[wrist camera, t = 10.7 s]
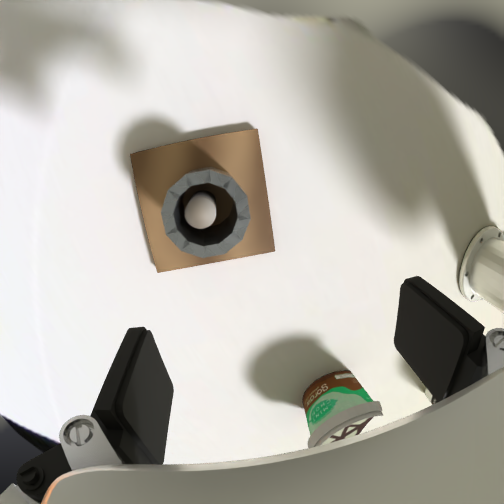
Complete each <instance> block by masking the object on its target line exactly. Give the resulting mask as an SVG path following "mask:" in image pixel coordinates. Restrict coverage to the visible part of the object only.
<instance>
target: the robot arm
mask: <svg viewBox="0 0 504 504" xmlns="http://www.w3.org/2000/svg"><path fill="white" fill-rule="evenodd" d="M459 283H460V290H461V293H462V295H463V296H464V297H465V298H466V299H467V300H469V301H472V302H475V301H479V300H481V299H484V300H486V301H487V302H489V303H490V304H491V305H493V306H494V307H496V308H497V309H498V310H500V311H501V312H502V313H504V234H503V233H502V231H501V230H500V229H499V228H496V227H494V226H488V227H485V228H483V229H482V230H481V231H480V232H479V233H477V235H476V236H475V237H474V238H473V240H472V242H471V243H470V245H469V247H468V249H467V251H466V253H465V256H464V258H463V262H462V265H461V270H460V279H459ZM484 328H485V327H484V326H483V325H482V324H481V323H479V322H478V321H477V320H476V319H474V318H473V317H472V316H471V315H470V314H468V313H467V312H466V311H465V310H463V309H462V308H461V307H459V306H458V305H457V304H456V303H454V302H453V301H452V300H450V299H449V298H448V297H447V296H445V295H444V294H443V293H441V292H440V291H439V290H437V289H436V288H435V287H433V286H432V285H431V284H429V283H428V282H427V281H425V280H424V279H422V278H421V277H419V276H416V277H412V278H408V279H406V280H405V281H404V283H403V284H402V285H401V288H400V298H399V307H398V315H397V323H396V330H395V337H394V344H395V347H396V349H397V350H398V351H399V353H400V354H401V355H402V357H403V358H404V359H405V360H406V362H407V363H408V364H409V365H410V367H411V368H412V369H413V371H414V372H415V373H416V375H417V376H418V377H419V378H420V380H421V381H422V382H423V384H424V385H425V386H426V388H427V389H428V390H429V392H430V393H431V394H432V396H433V397H434V398H435V400H436V401H437V402H438V403H436V404H434V405H432V406H429V407H427V408H425V409H423V410H421V411H419V412H416V413H414V414H412V415H409V416H407V417H405V418H402V419H400V420H397V421H395V422H392V423H390V424H387V425H384V426H382V427H379V428H376V429H373V430H370V431H368V432H365V433H362V434H359V435H355V436H352V437H349V438H346V439H342V440H339V441H335V442H332V443H328V444H324V445H320V446H316V447H312V448H308V449H303V450H299V451H294V452H289V453H284V454H279V455H273V456H267V457H260V458H254V459H246V460H237V461H228V462H216V463H200V464H171V465H162V464H163V462H164V455H165V447H166V440H167V432H168V425H169V418H170V412H171V405H172V399H173V392H174V390H173V384H172V382H171V379H170V377H169V375H168V372H167V370H166V368H165V365H164V363H163V360H162V358H161V355H160V353H159V351H158V348H157V345H156V343H155V340H154V338H153V335H152V333H151V331H150V330H146V328H145V327H137V328H129V329H128V331H127V333H126V335H125V337H124V339H123V341H122V343H121V346H120V348H119V350H118V352H117V354H116V356H115V359H114V361H113V363H112V365H111V368H110V370H109V372H108V375H107V377H106V379H105V381H104V384H103V386H102V389H101V391H100V393H99V396H98V398H97V401H96V403H95V406H94V408H93V411H92V413H91V416H87V415H78V416H75V417H73V418H71V419H69V420H68V421H67V422H66V423H65V424H64V425H63V426H62V428H61V430H60V434H59V438H60V442H61V443H60V444H59V445H57V446H55V447H53V448H51V449H50V450H48V451H46V452H44V453H43V454H41V455H39V456H37V457H35V458H33V459H31V460H30V461H28V462H26V463H25V464H23V465H22V466H21V467H20V469H19V471H18V473H17V485H14V484H13V483H12V484H11V485H10V486H9V487H8V488H7V489H6V490H5V491H4V492H3V493H2V494H1V495H0V504H504V329H502V328H495V329H492V330H490V331H489V332H488V333H487V334H486V336H484V335H483V331H484Z"/></svg>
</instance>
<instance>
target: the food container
mask: <svg viewBox="0 0 504 504" xmlns="http://www.w3.org/2000/svg"><path fill="white" fill-rule="evenodd" d="M303 405H304V409H305V414H306V418H307V422H308V427H309V431H310V435H311V436H310V438H309V440H308V448H312V447H316V446H320V445H324V444H328V443H332V442H335V441H339V440H342V439H346V438H349V437H352V436H355V435H359V434H360V432H361V431H362V429H363V428H364V427H365V426H366V424H367V423H368V422H369V421H370V420H371V419H372V418H373V417H374V416H383V414H382V412H381V411H382V408H381V405H380V402H379V401H373V400H372V399H371V397H370V396H369V395H368V394H367V392H366V391H365V390H364V388H363V387H362V386H361V384H360V383H359V382H358V380H357V379H356V378H355V376H354V375H353V374H352V373H351V371H338V372H333V373H330V374H327V375H325V376H323V377H321V378H319V379H318V380H316V381H315V382H313V383H312V384H311V385H310V386H309V387H308V388H307V390H306V391H305V393H304V395H303Z"/></svg>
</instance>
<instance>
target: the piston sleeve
mask: <svg viewBox="0 0 504 504" xmlns="http://www.w3.org/2000/svg"><path fill="white" fill-rule="evenodd" d="M203 183H211V184H214V185H216V186H219V187H222V188H225V190H226V191H227V192H228V193H229V194H230V195H231V197H232V198H233V206H232V209H231V212H230V214H229V216H228V217H227V218H226V219H225V220H224V221H222V222H221V223H220V224H218V225H213V226H209V227H207V228H203V229H198V228H195V227H193V226H191V225H190V224H189V223H188V222H187V220H186V218H185V210H184V205H183V197H184V194H185V191H186V190H187V189H188V188H189V187H190V186H193V185H198V184H203ZM161 216H162V220H163V224H164V229H165V233H166V235H167V236H168V237H169V239H170V240H171V241H172V242H173V243H174V244H175V245H176V246H177V247H178V248H179V249H180V250H181V251H182V252H185V253H188V254H192V255H195V256H198V257H201V258H206V257H211V256H217V255H222V254H226V253H227V252H228V251H229V250H230V249H232V248H233V247H234V246H235V245H237V244H238V243H239V242H240V241H242V240H243V237H244V234H245V232H246V229H247V227H248V224H249V222H250V219H251V217H250V211H249V205H248V198H247V195H246V194H245V192H244V191H243V190H242V188H241V187H240V186H239V184H238V183H237V182H236V181H235V180H234V179H233V177H232V176H231V175H230V174H229V173H228V172H225V171H222V170H220V169H217V168H214V167H206V168H201V169H196V170H192V171H190V172H189V173H187V174H185V175H184V176H183V177H182V178H181V179H180V180H179V181H177V182H176V183H175V184H174V185H173V186H172V187H171V188H170V189H169V190H168V191H167V194H166V197H165V200H164V204H163V207H162V210H161Z"/></svg>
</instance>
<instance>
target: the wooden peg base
mask: <svg viewBox="0 0 504 504" xmlns="http://www.w3.org/2000/svg"><path fill="white" fill-rule="evenodd" d="M130 157H131V162H132V168H133V173H134V178H135V183H136V188H137V193H138V197H139V202H140V206H141V211H142V215H143V219H144V224H145V228H146V232H147V236H148V240H149V244H150V247H151V251H152V255H153V259H154V262H155V266H156V269H157V273H160V272H165V271H171V270H176V269H182V268H187V267H193V266H198V265H204V264H209V263H215V262H220V261H225V260H231V259H236V258H242V257H247V256H253V255H258V254H263V253H269V252H274V251H275V246H274V239H273V231H272V224H271V216H270V209H269V202H268V195H267V188H266V181H265V174H264V168H263V161H262V154H261V148H260V141H259V135H258V129H252V130H245V131H238V132H231V133H225V134H219V135H213V136H208V137H203V138H197V139H192V140H187V141H183V142H178V143H173V144H169V145H165V146H160V147H156V148H152V149H148V150H144V151H140V152H136V153H133V154H130ZM206 167H214V168H217V169H220V170H222V171H225V172H228V173H229V174H230V175H231V176H232V177H233V179H234V180H235V181H236V182H237V183H238V184H239V186H240V187H241V188H242V190H243V191H244V192H245V194H246V195H247V198H248V205H249V211H250V217H251V219H250V222H249V224H248V227H247V229H246V232H245V234H244V237H243V240H242V241H240V242H239V243H238V244H237V245H235V246H234V247H233V248H232V249H230V250H229V251H228V252H227V253H226V254H222V255H217V256H211V257H206V258H201V257H198V256H195V255H192V254H188V253H185V252H182V251H181V250H180V249H179V248H178V247H177V246H176V245H175V244H174V243H173V242H172V241H171V240H170V239H169V237H168V236H167V235H166V233H165V229H164V224H163V220H162V216H161V210H162V207H163V204H164V200H165V197H166V194H167V191H168V190H169V189H170V188H171V187H172V186H173V185H174V184H175V183H176V182H177V181H179V180H180V179H181V178H182V177H183V176H184V175H185V174H187V173H189V172H190V171H192V170H196V169H201V168H206ZM183 205H184V210H185V218H186V220H187V222H188V223H189V224H190V225H191V226H193V227H195V228H198V229H203V228H207V227H209V226H213V225H218V224H220V223H221V222H222V221H224V220H225V219H226V218H227V217H228V216H229V214H230V212H231V209H232V206H233V198H232V197H231V195H230V194H229V193H228V192H227V191H226V190H225V188H222V187H219V186H216V185H214V184H211V183H203V184H198V185H193V186H190V187H189V188H188V189H187V190H186V191H185V194H184V197H183Z"/></svg>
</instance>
